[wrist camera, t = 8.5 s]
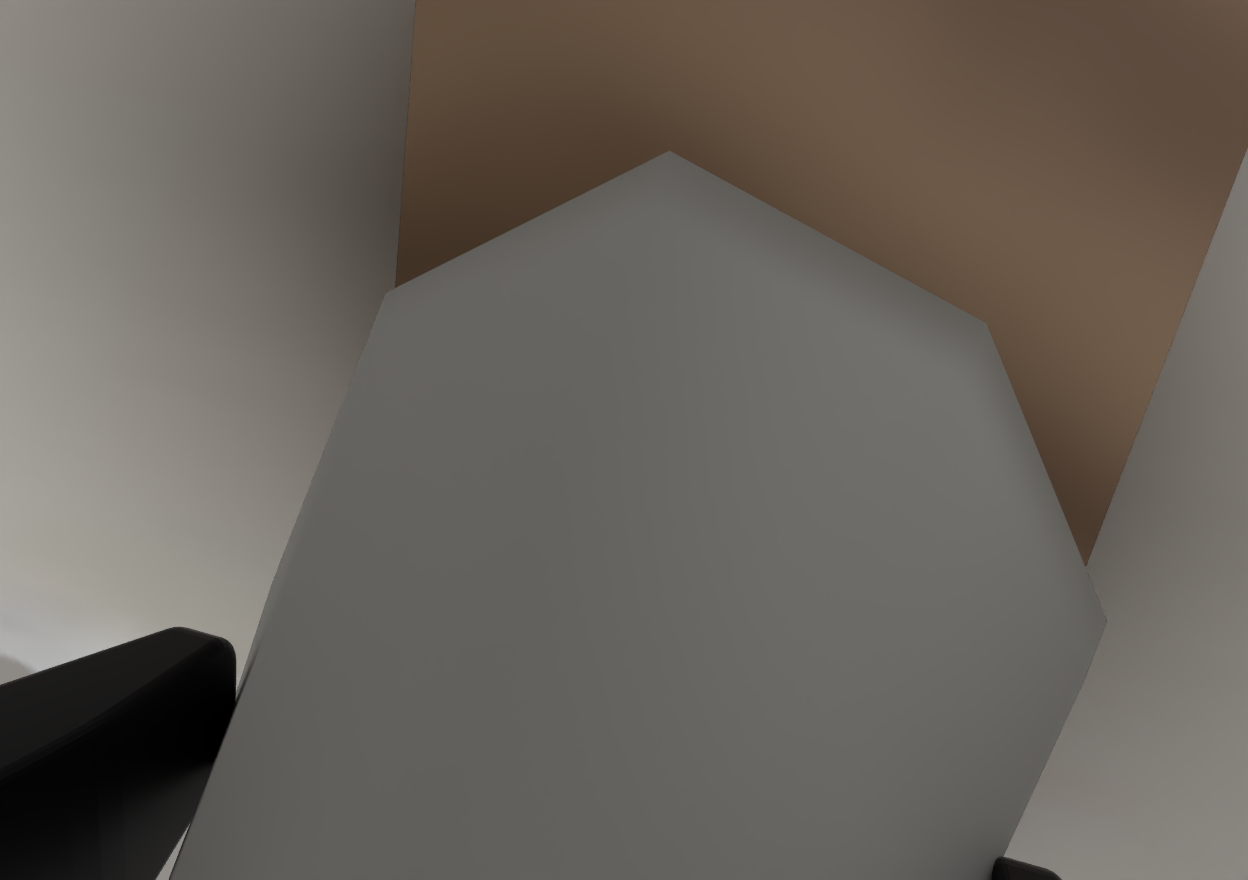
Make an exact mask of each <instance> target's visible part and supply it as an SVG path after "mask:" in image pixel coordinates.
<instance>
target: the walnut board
mask: <svg viewBox="0 0 1248 880" xmlns="http://www.w3.org/2000/svg"><path fill="white" fill-rule="evenodd" d="M1247 147H1248V0H416V5H415V19H414V33H413V47H412V61H411V75H410V89H409V103H408V117H407V131H406V145H405V159H404V173H403V187H402V201H401V215H400V229H399V243H398V257H397V271H396V285H395V288H396V287H398V286H400V285H402V284H404V283H406V282H408V281H410V280H412V279H414V278H416V277H418V276H420V275H422V274H424V273H426V272H428V271H430V270H432V269H434V268H436V267H438V266H440V265H442V264H444V263H446V262H448V261H450V260H452V259H454V258H456V257H458V256H460V255H462V254H464V253H466V252H468V251H470V250H472V249H474V248H476V247H478V246H480V245H482V244H484V243H486V242H488V241H490V240H492V239H494V238H496V237H498V236H500V235H502V234H504V233H506V232H508V231H510V230H512V229H514V228H516V227H518V226H520V225H522V224H524V223H526V222H528V221H530V220H532V219H534V218H536V217H538V216H540V215H542V214H544V213H546V212H548V211H550V210H552V209H554V208H556V207H558V206H560V205H562V204H564V203H566V202H568V201H570V200H572V199H574V198H576V197H578V196H580V195H582V194H584V193H586V192H588V191H590V190H592V189H594V188H596V187H598V186H600V185H602V184H604V183H606V182H608V181H610V180H612V179H614V178H616V177H618V176H620V175H622V174H624V173H626V172H628V171H630V170H632V169H634V168H636V167H638V166H640V165H642V164H644V163H646V162H648V161H650V160H652V159H654V158H656V157H658V156H660V155H662V154H664V153H666V152H668V151H671V152H673V153H675V154H677V155H678V156H680V157H682V158H684V159H686V160H688V161H689V162H691V163H693V164H695V165H697V166H699V167H700V168H702V169H704V170H706V171H708V172H710V173H711V174H713V175H715V176H717V177H719V178H721V179H722V180H724V181H726V182H728V183H730V184H732V185H733V186H735V187H737V188H739V189H741V190H743V191H744V192H746V193H748V194H750V195H752V196H754V197H756V198H757V199H759V200H761V201H763V202H765V203H767V204H768V205H770V206H772V207H774V208H776V209H778V210H779V211H781V212H783V213H785V214H787V215H789V216H790V217H792V218H794V219H796V220H798V221H800V222H801V223H803V224H805V225H807V226H809V227H811V228H812V229H814V230H816V231H818V232H820V233H822V234H823V235H825V236H827V237H829V238H831V239H833V240H834V241H836V242H838V243H840V244H842V245H844V246H846V247H847V248H849V249H851V250H853V251H855V252H857V253H858V254H860V255H862V256H864V257H866V258H868V259H869V260H871V261H873V262H875V263H877V264H879V265H880V266H882V267H884V268H886V269H888V270H890V271H891V272H893V273H895V274H897V275H899V276H901V277H902V278H904V279H906V280H908V281H910V282H912V283H913V284H915V285H917V286H919V287H921V288H923V289H924V290H926V291H928V292H930V293H932V294H934V295H936V296H937V297H939V298H941V299H943V300H945V301H947V302H948V303H950V304H952V305H954V306H956V307H958V308H959V309H961V310H963V311H965V312H967V313H969V314H970V315H972V316H974V317H976V318H978V319H980V320H981V321H983V322H985V323H986V324H987V326H988V329H989V331H990V334H991V336H992V339H993V341H994V344H995V346H996V348H997V351H998V353H999V356H1000V358H1001V361H1002V363H1003V366H1004V368H1005V371H1006V373H1007V376H1008V378H1009V380H1010V383H1011V385H1012V388H1013V390H1014V393H1015V395H1016V398H1017V400H1018V403H1019V405H1020V408H1021V410H1022V412H1023V415H1024V417H1025V420H1026V422H1027V425H1028V427H1029V430H1030V432H1031V435H1032V437H1033V440H1034V442H1035V445H1036V447H1037V449H1038V452H1039V454H1040V457H1041V459H1042V462H1043V464H1044V467H1045V469H1046V472H1047V474H1048V477H1049V479H1050V481H1051V484H1052V486H1053V489H1054V491H1055V494H1056V496H1057V499H1058V501H1059V504H1060V506H1061V509H1062V511H1063V513H1064V516H1065V518H1066V521H1067V523H1068V526H1069V528H1070V531H1071V533H1072V536H1073V538H1074V541H1075V543H1076V545H1077V548H1078V550H1079V553H1080V555H1081V558H1082V560H1083V563H1084V565H1085V567H1086V564H1087V562H1088V559H1089V557H1090V554H1091V551H1092V549H1093V546H1094V544H1095V541H1096V539H1097V536H1098V533H1099V531H1100V528H1101V526H1102V523H1103V520H1104V518H1105V515H1106V513H1107V510H1108V507H1109V505H1110V502H1111V500H1112V497H1113V495H1114V492H1115V489H1116V487H1117V484H1118V482H1119V479H1120V476H1121V474H1122V471H1123V469H1124V466H1125V463H1126V461H1127V458H1128V456H1129V453H1130V450H1131V448H1132V445H1133V443H1134V440H1135V438H1136V435H1137V432H1138V430H1139V427H1140V425H1141V422H1142V419H1143V417H1144V414H1145V412H1146V409H1147V406H1148V404H1149V401H1150V399H1151V396H1152V393H1153V391H1154V388H1155V386H1156V383H1157V381H1158V378H1159V375H1160V373H1161V370H1162V368H1163V365H1164V362H1165V360H1166V357H1167V355H1168V352H1169V349H1170V347H1171V344H1172V342H1173V339H1174V336H1175V334H1176V331H1177V329H1178V326H1179V324H1180V321H1181V318H1182V316H1183V313H1184V311H1185V308H1186V305H1187V303H1188V300H1189V298H1190V295H1191V292H1192V290H1193V287H1194V285H1195V282H1196V279H1197V277H1198V274H1199V272H1200V269H1201V267H1202V264H1203V261H1204V259H1205V256H1206V254H1207V251H1208V248H1209V246H1210V243H1211V241H1212V238H1213V235H1214V233H1215V230H1216V228H1217V225H1218V222H1219V220H1220V217H1221V215H1222V212H1223V210H1224V207H1225V204H1226V202H1227V199H1228V197H1229V194H1230V191H1231V189H1232V186H1233V184H1234V181H1235V178H1236V176H1237V173H1238V171H1239V168H1240V165H1241V163H1242V160H1243V158H1244V155H1245V153H1246V150H1247Z"/></svg>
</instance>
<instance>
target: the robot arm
mask: <svg viewBox="0 0 1248 880" xmlns="http://www.w3.org/2000/svg"><path fill="white" fill-rule="evenodd" d="M235 703H236V654H235V651H234V648H233V646H232V644H231V643H230V642H229V641H227V640H226V639H224V638H222V637H218V636H215V635H211V634H207V633H204V632H200V631H197V630H193V629H190V628H185V627H173V628H169V629H165V630H162V631H159V632H157V633H154V634H151V635H148V636H145V637H142V638H139V639H136V640H133V641H130V642H127V643H124V644H121V645H118V646H115V647H112V648H109V649H106V650H103V651H100V652H97V653H94V654H91V655H88V656H85V657H82V658H79V659H76V660H73V661H70V662H67V663H64V664H61V665H58V666H55V667H52V668H49V669H46V670H43V671H40V672H37V673H34V674H31V675H28V676H25V677H22V678H19V679H16V680H13V681H11V682H7V683H5V684H1V685H0V880H156V878H157V877H158V875H159V873H160V872H161V870H162V869H163V867H164V865H165V864H166V862H167V860H168V859H169V857H170V855H171V854H172V852H173V850H174V849H175V847H176V845H177V844H178V842H179V840H180V839H181V837H182V836H183V834H184V832H185V831H186V829H187V827H188V826H189V824H190V822H191V820H192V817H193V815H194V812H195V809H196V807H197V804H198V802H199V799H200V796H201V794H202V791H203V789H204V786H205V783H206V781H207V778H208V775H209V773H210V770H211V768H212V765H213V762H214V760H215V757H216V755H217V752H218V749H219V746H220V744H221V741H222V738H223V736H224V733H225V730H226V727H227V725H228V722H229V719H230V716H231V714H232V711H233V708H234V705H235ZM992 880H1062V879H1061V878H1060V877H1059V876H1058V875H1056V874H1055V873H1054V872H1052V871H1050V870H1048V869H1046V868H1042V867H1038V866H1035V865H1031V864H1028V863H1024V862H1021V861H1017V860H1013V859H1010V858H1006V857H1002V856H1001V857H998V858H997V859H996V861H995V863H994V866H993V871H992Z"/></svg>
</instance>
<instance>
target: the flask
mask: <svg viewBox="0 0 1248 880" xmlns="http://www.w3.org/2000/svg"><path fill="white" fill-rule="evenodd" d="M1106 622H1107V619H1106V617H1105V614H1104V612H1103V609H1102V607H1101V605H1100V602H1099V600H1098V597H1097V595H1096V592H1095V590H1094V587H1093V585H1092V582H1091V580H1090V577H1089V575H1088V573H1087V570H1086V568H1085V565H1084V563H1083V560H1082V558H1081V555H1080V553H1079V550H1078V548H1077V545H1076V543H1075V541H1074V538H1073V536H1072V533H1071V531H1070V528H1069V526H1068V523H1067V521H1066V518H1065V516H1064V513H1063V511H1062V509H1061V506H1060V504H1059V501H1058V499H1057V496H1056V494H1055V491H1054V489H1053V486H1052V484H1051V481H1050V479H1049V477H1048V474H1047V472H1046V469H1045V467H1044V464H1043V462H1042V459H1041V457H1040V454H1039V452H1038V449H1037V447H1036V445H1035V442H1034V440H1033V437H1032V435H1031V432H1030V430H1029V427H1028V425H1027V422H1026V420H1025V417H1024V415H1023V412H1022V410H1021V408H1020V405H1019V403H1018V400H1017V398H1016V395H1015V393H1014V390H1013V388H1012V385H1011V383H1010V380H1009V378H1008V376H1007V373H1006V371H1005V368H1004V366H1003V363H1002V361H1001V358H1000V356H999V353H998V351H997V348H996V346H995V344H994V341H993V339H992V336H991V334H990V331H989V329H988V326H987V324H986V323H985V322H983V321H981V320H980V319H978V318H976V317H974V316H972V315H970V314H969V313H967V312H965V311H963V310H961V309H959V308H958V307H956V306H954V305H952V304H950V303H948V302H947V301H945V300H943V299H941V298H939V297H937V296H936V295H934V294H932V293H930V292H928V291H926V290H924V289H923V288H921V287H919V286H917V285H915V284H913V283H912V282H910V281H908V280H906V279H904V278H902V277H901V276H899V275H897V274H895V273H893V272H891V271H890V270H888V269H886V268H884V267H882V266H880V265H879V264H877V263H875V262H873V261H871V260H869V259H868V258H866V257H864V256H862V255H860V254H858V253H857V252H855V251H853V250H851V249H849V248H847V247H846V246H844V245H842V244H840V243H838V242H836V241H834V240H833V239H831V238H829V237H827V236H825V235H823V234H822V233H820V232H818V231H816V230H814V229H812V228H811V227H809V226H807V225H805V224H803V223H801V222H800V221H798V220H796V219H794V218H792V217H790V216H789V215H787V214H785V213H783V212H781V211H779V210H778V209H776V208H774V207H772V206H770V205H768V204H767V203H765V202H763V201H761V200H759V199H757V198H756V197H754V196H752V195H750V194H748V193H746V192H744V191H743V190H741V189H739V188H737V187H735V186H733V185H732V184H730V183H728V182H726V181H724V180H722V179H721V178H719V177H717V176H715V175H713V174H711V173H710V172H708V171H706V170H704V169H702V168H700V167H699V166H697V165H695V164H693V163H691V162H689V161H688V160H686V159H684V158H682V157H680V156H678V155H677V154H675V153H673V152H671V151H668V152H666V153H664V154H662V155H660V156H658V157H656V158H654V159H652V160H650V161H648V162H646V163H644V164H642V165H640V166H638V167H636V168H634V169H632V170H630V171H628V172H626V173H624V174H622V175H620V176H618V177H616V178H614V179H612V180H610V181H608V182H606V183H604V184H602V185H600V186H598V187H596V188H594V189H592V190H590V191H588V192H586V193H584V194H582V195H580V196H578V197H576V198H574V199H572V200H570V201H568V202H566V203H564V204H562V205H560V206H558V207H556V208H554V209H552V210H550V211H548V212H546V213H544V214H542V215H540V216H538V217H536V218H534V219H532V220H530V221H528V222H526V223H524V224H522V225H520V226H518V227H516V228H514V229H512V230H510V231H508V232H506V233H504V234H502V235H500V236H498V237H496V238H494V239H492V240H490V241H488V242H486V243H484V244H482V245H480V246H478V247H476V248H474V249H472V250H470V251H468V252H466V253H464V254H462V255H460V256H458V257H456V258H454V259H452V260H450V261H448V262H446V263H444V264H442V265H440V266H438V267H436V268H434V269H432V270H430V271H428V272H426V273H424V274H422V275H420V276H418V277H416V278H414V279H412V280H410V281H408V282H406V283H404V284H402V285H400V286H398V287H396V288H394V289H392V290H390V291H388V292H386V293H385V296H384V298H383V301H382V303H381V306H380V308H379V311H378V313H377V316H376V319H375V321H374V324H373V326H372V329H371V331H370V334H369V336H368V339H367V342H366V344H365V347H364V349H363V352H362V354H361V357H360V359H359V362H358V365H357V367H356V370H355V372H354V375H353V377H352V380H351V382H350V385H349V388H348V390H347V393H346V395H345V398H344V400H343V403H342V405H341V408H340V411H339V413H338V416H337V418H336V421H335V423H334V426H333V428H332V431H331V434H330V436H329V439H328V441H327V444H326V446H325V449H324V451H323V454H322V457H321V459H320V462H319V464H318V467H317V469H316V472H315V474H314V477H313V480H312V482H311V485H310V487H309V490H308V492H307V495H306V497H305V500H304V503H303V505H302V508H301V510H300V513H299V515H298V518H297V520H296V523H295V526H294V528H293V531H292V533H291V536H290V538H289V541H288V543H287V546H286V549H285V551H284V554H283V556H282V559H281V562H280V564H279V567H278V569H277V572H276V574H275V577H274V580H273V582H272V585H271V588H270V591H269V594H268V597H267V600H266V603H265V606H264V609H263V612H262V615H261V618H260V621H259V624H258V628H257V631H256V634H255V637H254V640H253V643H252V646H251V649H250V652H249V655H248V658H247V661H246V664H245V668H244V671H243V674H242V677H241V680H240V683H239V686H238V689H237V692H236V703H235V705H234V708H233V711H232V714H231V716H230V719H229V722H228V725H227V727H226V730H225V733H224V736H223V738H222V741H221V744H220V746H219V749H218V752H217V755H216V757H215V760H214V762H213V765H212V768H211V770H210V773H209V775H208V778H207V781H206V783H205V786H204V789H203V791H202V794H201V796H200V799H199V802H198V804H197V807H196V809H195V812H194V815H193V817H192V820H191V822H190V825H189V828H188V830H187V833H186V836H185V838H184V841H183V844H182V846H181V849H180V851H179V854H178V856H177V859H176V862H175V864H174V867H173V870H172V872H171V875H170V877H169V880H992V871H993V866H994V863H995V861H996V859H997V858H998V857H1001V856H1002V857H1003V856H1004V853H1005V851H1006V849H1007V847H1008V845H1009V842H1010V840H1011V838H1012V836H1013V834H1014V832H1015V829H1016V827H1017V825H1018V823H1019V821H1020V819H1021V816H1022V814H1023V812H1024V810H1025V808H1026V806H1027V803H1028V801H1029V799H1030V797H1031V795H1032V792H1033V790H1034V788H1035V786H1036V784H1037V782H1038V779H1039V777H1040V775H1041V773H1042V771H1043V769H1044V766H1045V764H1046V762H1047V760H1048V758H1049V755H1050V753H1051V751H1052V749H1053V747H1054V745H1055V742H1056V740H1057V738H1058V736H1059V734H1060V732H1061V729H1062V727H1063V725H1064V723H1065V721H1066V719H1067V716H1068V714H1069V712H1070V710H1071V708H1072V705H1073V703H1074V701H1075V699H1076V697H1077V695H1078V692H1079V690H1080V688H1081V686H1082V684H1083V682H1084V679H1085V677H1086V674H1087V672H1088V669H1089V666H1090V664H1091V661H1092V659H1093V656H1094V653H1095V651H1096V648H1097V646H1098V643H1099V640H1100V638H1101V635H1102V633H1103V630H1104V627H1105V625H1106Z"/></svg>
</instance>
